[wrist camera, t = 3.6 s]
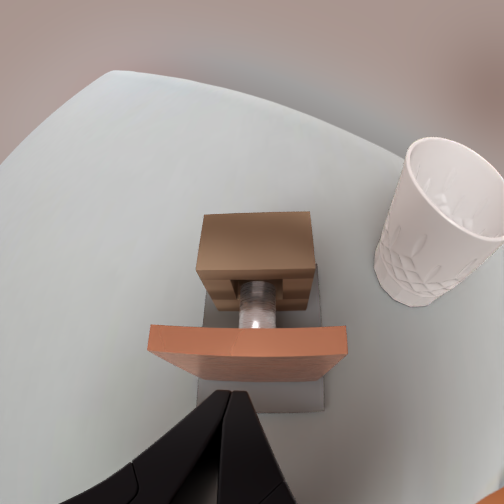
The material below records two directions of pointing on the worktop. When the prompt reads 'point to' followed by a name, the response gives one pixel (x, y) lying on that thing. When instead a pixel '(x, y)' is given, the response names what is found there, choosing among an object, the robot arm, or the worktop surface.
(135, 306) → the worktop surface
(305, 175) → the worktop surface
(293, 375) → the copper wooden slab
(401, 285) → the white cup
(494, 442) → the worktop surface
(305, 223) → the bearing block
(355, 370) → the worktop surface
